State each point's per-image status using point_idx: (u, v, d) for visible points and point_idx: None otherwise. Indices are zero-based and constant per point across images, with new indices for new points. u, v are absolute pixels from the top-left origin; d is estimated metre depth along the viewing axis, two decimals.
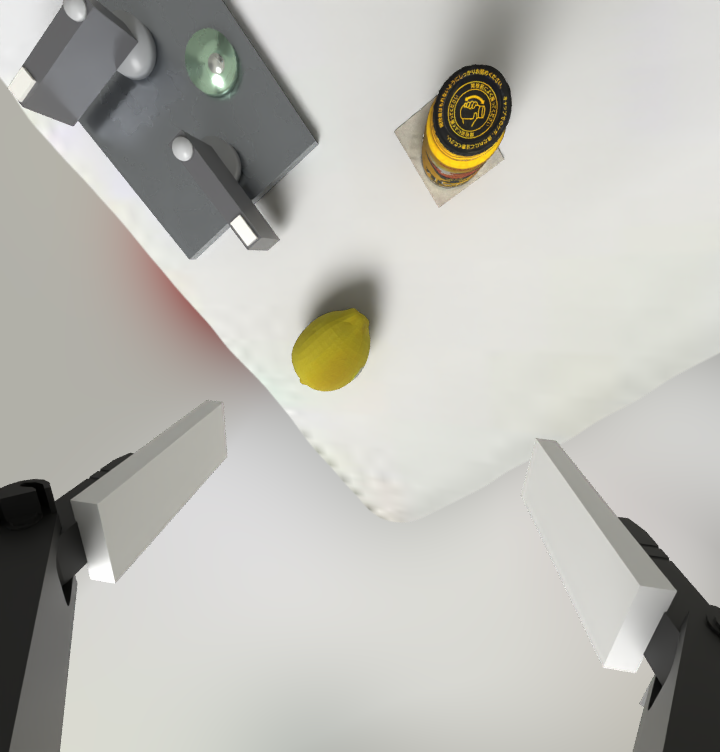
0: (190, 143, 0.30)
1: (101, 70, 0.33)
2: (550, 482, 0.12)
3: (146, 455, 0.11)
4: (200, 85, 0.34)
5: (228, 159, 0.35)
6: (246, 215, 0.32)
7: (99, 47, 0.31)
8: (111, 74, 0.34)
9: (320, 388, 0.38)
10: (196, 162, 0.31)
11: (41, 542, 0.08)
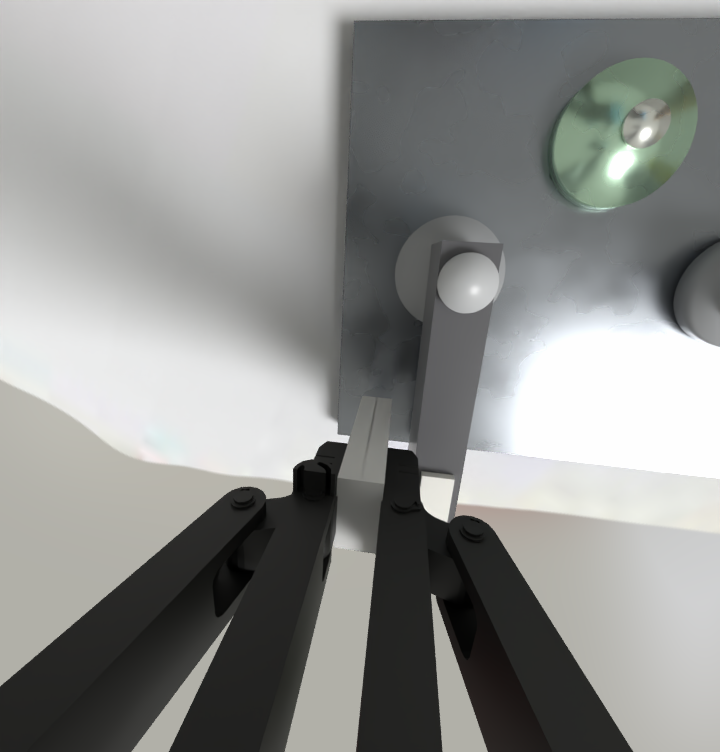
0: None
1: None
2: None
3: (360, 442, 0.13)
4: (627, 196, 0.14)
5: None
6: None
7: None
8: None
9: None
10: None
11: (319, 520, 0.09)
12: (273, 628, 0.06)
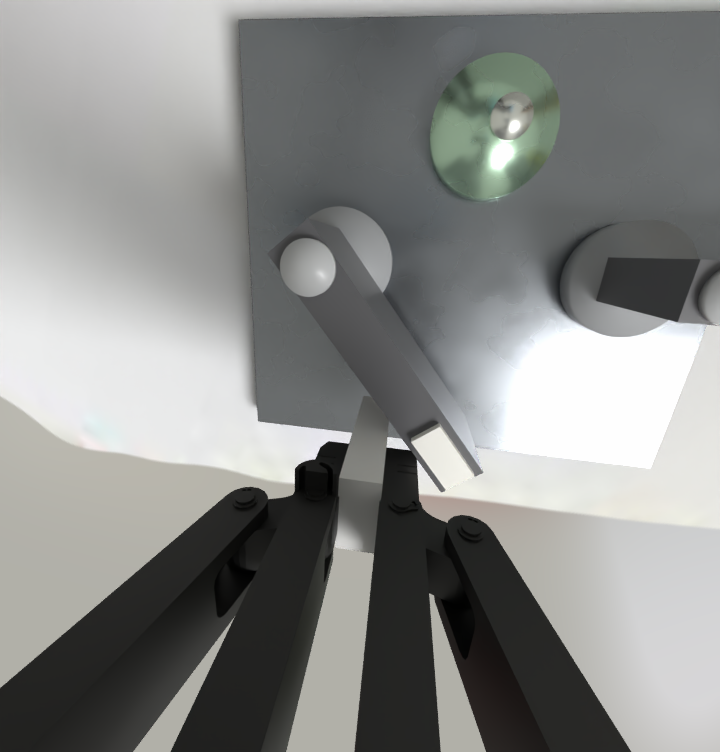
0: None
1: (391, 311, 0.15)
2: None
3: (361, 442, 0.13)
4: (501, 186, 0.15)
5: (663, 244, 0.14)
6: None
7: (363, 280, 0.14)
8: (389, 303, 0.16)
9: None
10: None
11: (321, 521, 0.09)
12: (274, 628, 0.06)
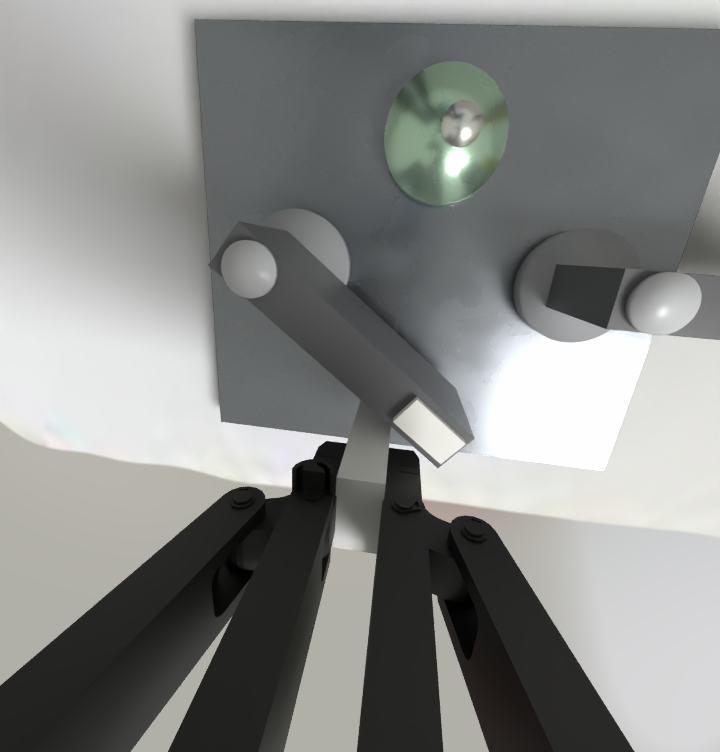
0: (679, 273, 0.10)
1: (354, 299, 0.15)
2: None
3: (359, 442, 0.13)
4: (454, 192, 0.15)
5: (608, 252, 0.14)
6: None
7: (315, 273, 0.14)
8: (353, 293, 0.16)
9: None
10: (713, 300, 0.10)
11: (319, 520, 0.09)
12: (272, 628, 0.06)
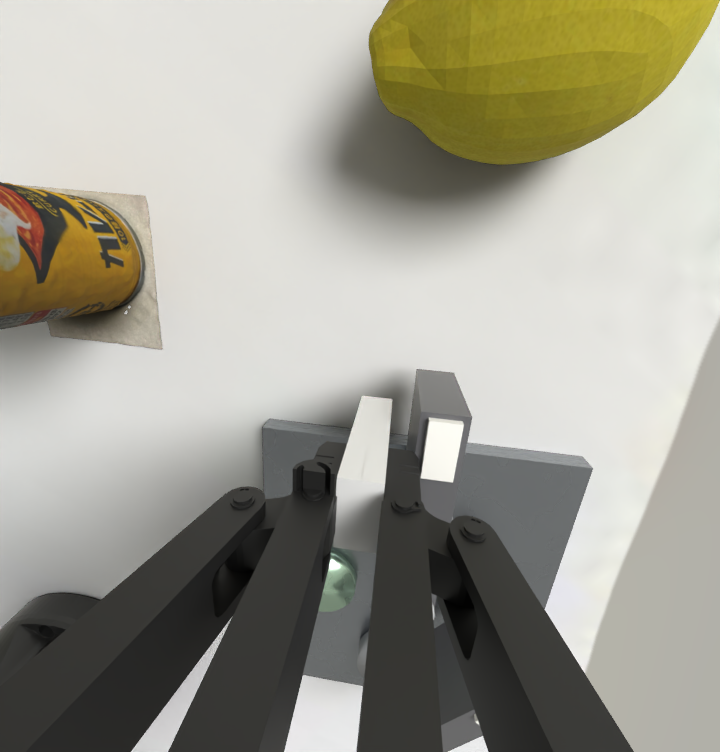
0: None
1: None
2: None
3: (359, 442, 0.13)
4: (348, 581, 0.23)
5: None
6: None
7: None
8: None
9: None
10: None
11: (319, 520, 0.09)
12: (272, 628, 0.06)
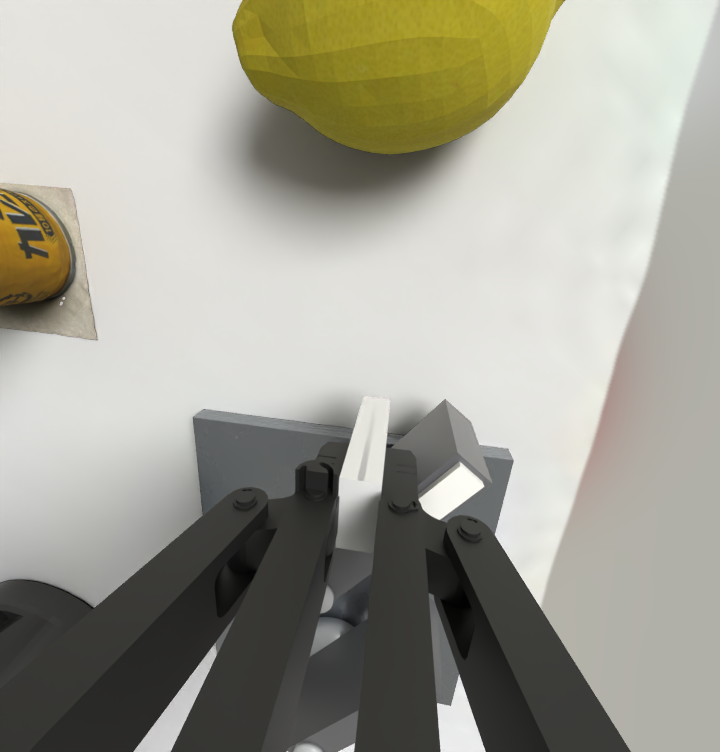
0: None
1: (343, 651, 0.23)
2: None
3: (362, 442, 0.13)
4: None
5: None
6: None
7: (321, 687, 0.22)
8: (344, 636, 0.24)
9: None
10: (330, 575, 0.15)
11: (322, 521, 0.09)
12: (275, 629, 0.06)
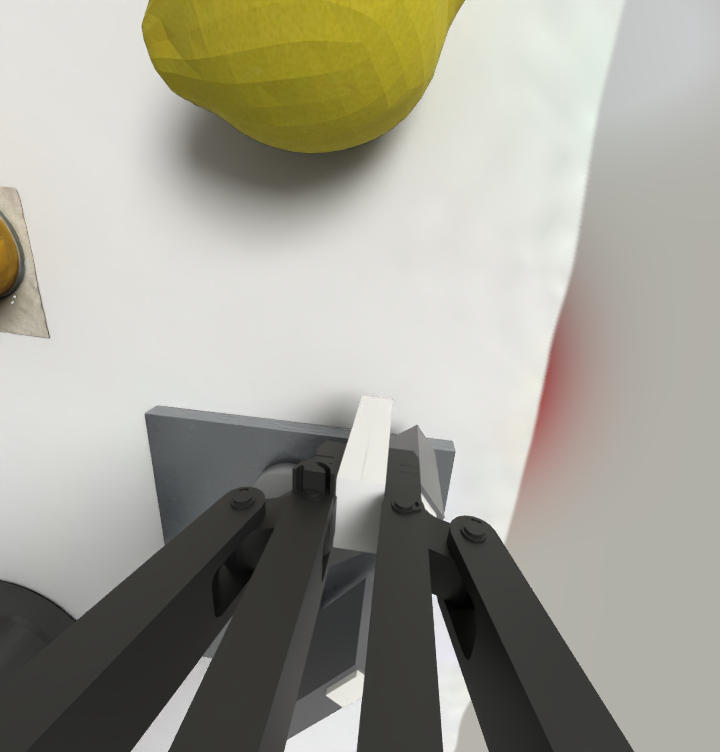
0: None
1: None
2: None
3: (359, 442, 0.13)
4: None
5: (279, 485, 0.20)
6: None
7: None
8: None
9: None
10: None
11: (319, 520, 0.09)
12: (272, 628, 0.06)
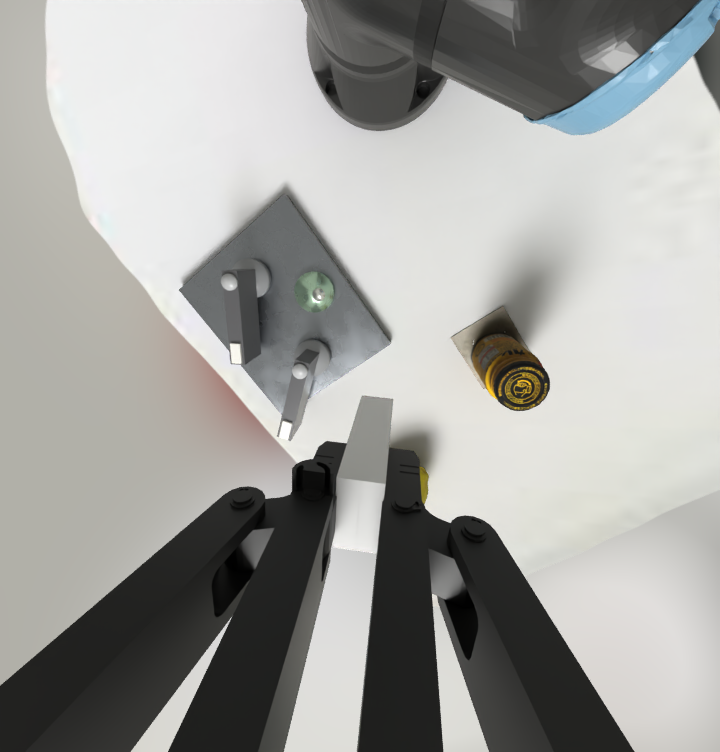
0: (306, 374, 0.41)
1: (253, 305, 0.43)
2: None
3: (359, 442, 0.13)
4: (304, 306, 0.44)
5: (320, 367, 0.46)
6: (295, 423, 0.44)
7: (247, 292, 0.41)
8: (257, 302, 0.44)
9: None
10: (299, 382, 0.42)
11: (319, 520, 0.09)
12: (272, 627, 0.06)
